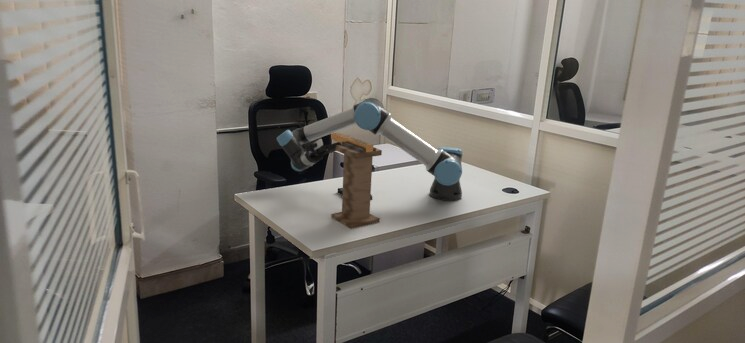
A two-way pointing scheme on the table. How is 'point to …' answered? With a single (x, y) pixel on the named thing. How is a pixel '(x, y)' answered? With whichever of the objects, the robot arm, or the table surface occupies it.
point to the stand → (356, 186)
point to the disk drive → (340, 191)
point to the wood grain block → (352, 141)
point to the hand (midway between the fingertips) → (335, 140)
